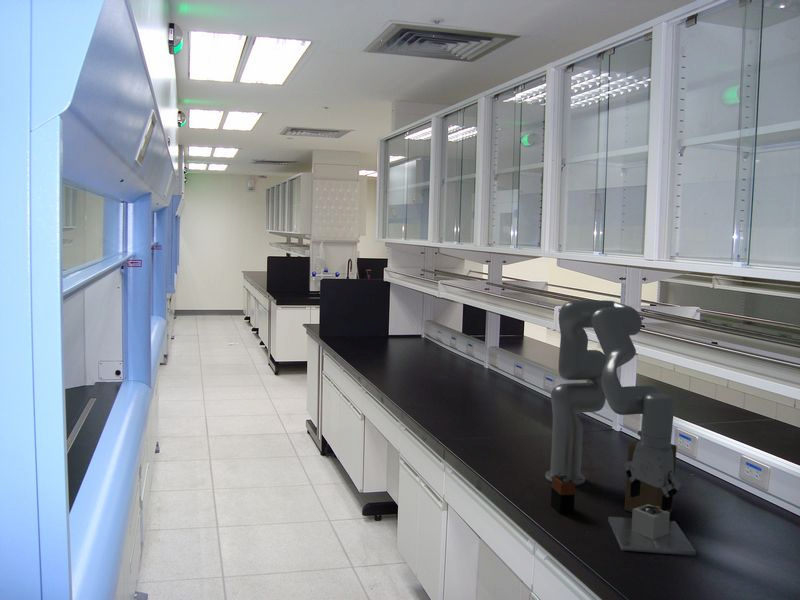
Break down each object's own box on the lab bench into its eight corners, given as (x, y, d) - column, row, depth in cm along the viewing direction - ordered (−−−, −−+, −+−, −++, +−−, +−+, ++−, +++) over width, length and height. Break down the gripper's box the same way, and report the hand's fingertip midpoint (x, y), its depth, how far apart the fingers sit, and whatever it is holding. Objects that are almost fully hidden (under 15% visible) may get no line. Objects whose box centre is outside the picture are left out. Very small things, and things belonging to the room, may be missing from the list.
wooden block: (672, 512, 200) (677, 445, 198) (656, 521, 193) (661, 452, 191) (640, 501, 207) (644, 436, 205) (623, 510, 200) (627, 443, 198)
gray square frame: (631, 530, 183) (632, 507, 183) (647, 525, 187) (648, 502, 187) (652, 539, 178) (654, 515, 177) (668, 534, 182) (670, 510, 181)
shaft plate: (608, 520, 192) (610, 493, 192) (674, 525, 191) (676, 497, 190) (621, 550, 175) (623, 520, 174) (695, 555, 173) (697, 525, 172)
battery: (563, 504, 203) (565, 471, 202) (574, 513, 197) (576, 479, 196) (549, 505, 202) (551, 472, 201) (560, 514, 196) (562, 480, 195)
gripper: (619, 433, 185) (614, 493, 187) (676, 453, 171) (670, 518, 173) (637, 429, 189) (632, 488, 191) (694, 448, 175) (687, 512, 177)
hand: (650, 502), depth 182 cm, fingers open, 9 cm apart
